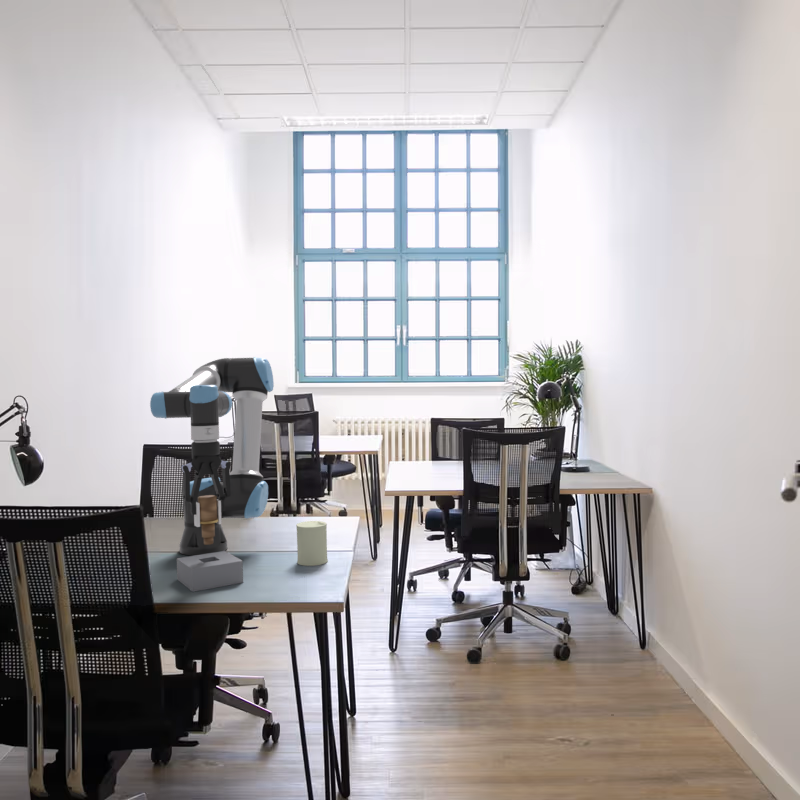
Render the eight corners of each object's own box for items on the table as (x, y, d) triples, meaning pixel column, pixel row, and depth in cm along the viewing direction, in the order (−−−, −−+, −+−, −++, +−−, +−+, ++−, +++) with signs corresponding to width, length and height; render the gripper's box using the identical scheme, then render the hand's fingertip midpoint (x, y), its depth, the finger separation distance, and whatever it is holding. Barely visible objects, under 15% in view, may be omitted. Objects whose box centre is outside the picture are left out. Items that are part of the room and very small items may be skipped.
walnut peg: (214, 540, 207) (213, 494, 206) (221, 543, 202) (220, 497, 202) (195, 543, 204) (194, 496, 204) (202, 546, 199) (200, 499, 199)
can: (327, 565, 218) (326, 525, 217) (296, 566, 217) (295, 526, 217) (328, 557, 227) (327, 518, 226) (298, 558, 226) (297, 519, 226)
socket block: (225, 571, 213) (225, 550, 213) (243, 582, 202) (242, 560, 202) (177, 579, 206) (176, 558, 206) (192, 591, 194) (191, 569, 194)
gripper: (175, 444, 194) (178, 531, 195) (242, 439, 204) (244, 522, 205) (167, 442, 200) (170, 526, 201) (232, 437, 210) (235, 518, 211)
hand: (208, 524), depth 203 cm, fingers closed on walnut peg, 5 cm apart
